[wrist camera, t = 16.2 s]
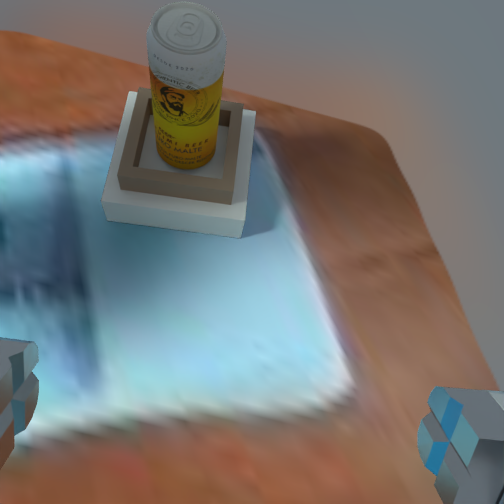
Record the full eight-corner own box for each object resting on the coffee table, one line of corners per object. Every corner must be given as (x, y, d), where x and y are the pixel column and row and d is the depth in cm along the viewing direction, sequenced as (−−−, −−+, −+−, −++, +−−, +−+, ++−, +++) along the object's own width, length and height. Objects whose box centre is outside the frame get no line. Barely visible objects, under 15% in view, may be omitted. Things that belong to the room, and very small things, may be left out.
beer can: (148, 165, 46) (133, 42, 32) (167, 120, 48) (160, -11, 35) (206, 181, 46) (215, 65, 32) (221, 135, 49) (236, 11, 35)
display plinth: (107, 220, 47) (96, 186, 41) (132, 116, 53) (126, 73, 47) (240, 238, 48) (248, 208, 42) (251, 134, 54) (259, 95, 48)
